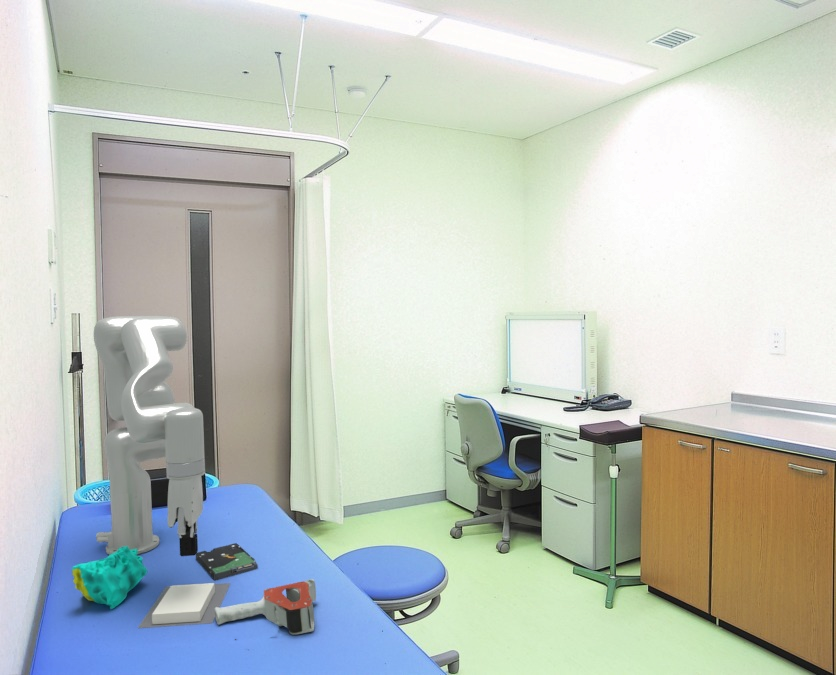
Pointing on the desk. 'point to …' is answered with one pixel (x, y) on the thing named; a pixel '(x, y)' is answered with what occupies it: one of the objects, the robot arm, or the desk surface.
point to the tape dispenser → (278, 607)
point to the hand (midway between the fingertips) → (189, 554)
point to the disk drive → (226, 561)
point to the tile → (184, 603)
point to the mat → (206, 619)
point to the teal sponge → (110, 576)
